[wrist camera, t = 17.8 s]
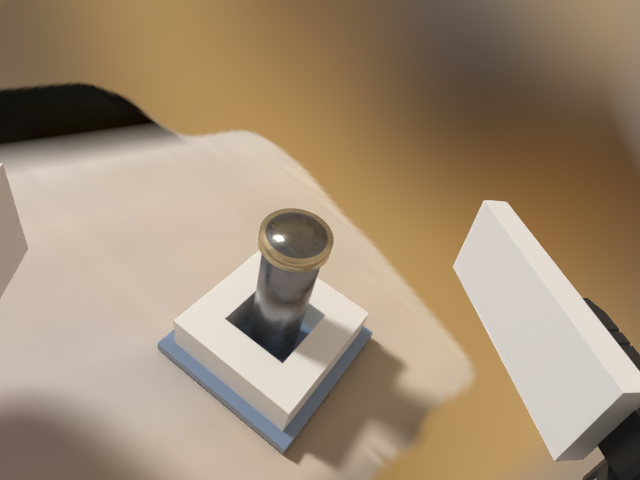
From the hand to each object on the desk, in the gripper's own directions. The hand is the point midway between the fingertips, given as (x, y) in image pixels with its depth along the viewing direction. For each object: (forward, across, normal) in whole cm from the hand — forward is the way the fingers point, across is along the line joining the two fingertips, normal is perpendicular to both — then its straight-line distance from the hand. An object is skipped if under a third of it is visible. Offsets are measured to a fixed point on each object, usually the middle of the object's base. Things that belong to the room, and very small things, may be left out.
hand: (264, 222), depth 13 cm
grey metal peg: (+16, +4, -25) cm, 30 cm away
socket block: (+16, +4, -26) cm, 31 cm away
